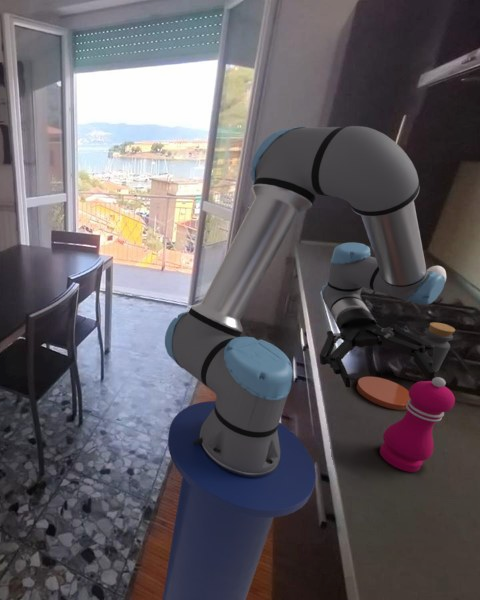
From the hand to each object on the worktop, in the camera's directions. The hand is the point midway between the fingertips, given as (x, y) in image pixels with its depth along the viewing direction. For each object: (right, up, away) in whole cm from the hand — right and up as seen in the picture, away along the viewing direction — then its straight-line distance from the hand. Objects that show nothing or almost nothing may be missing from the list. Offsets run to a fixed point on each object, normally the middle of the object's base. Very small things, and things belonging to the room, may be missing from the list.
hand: (388, 380), depth 72 cm
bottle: (+29, -4, +24) cm, 38 cm away
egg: (+79, +19, +73) cm, 109 cm away
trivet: (+13, -7, +17) cm, 23 cm away
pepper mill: (+1, -16, -1) cm, 16 cm away
